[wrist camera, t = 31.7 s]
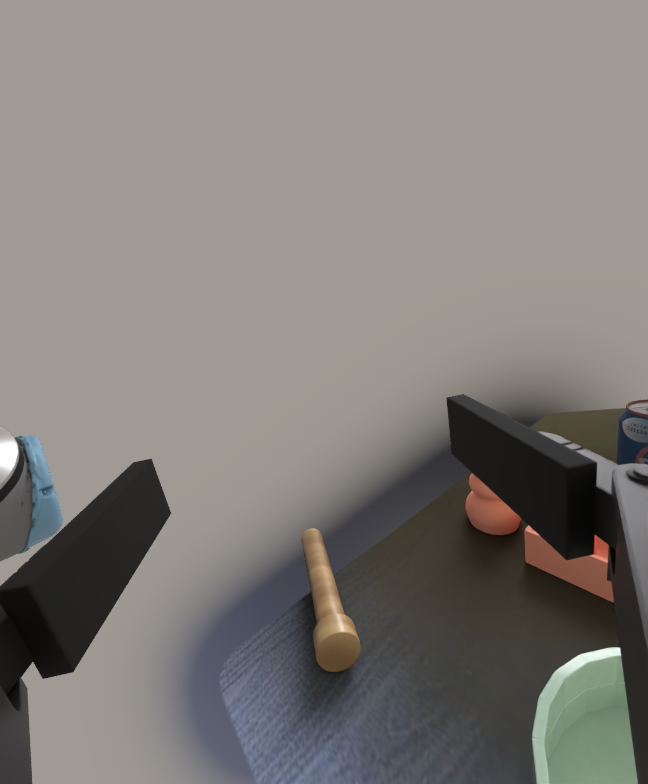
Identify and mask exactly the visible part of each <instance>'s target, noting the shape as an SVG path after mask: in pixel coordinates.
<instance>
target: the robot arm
mask: <svg viewBox="0 0 648 784" xmlns="http://www.w3.org/2000/svg"><path fill="white" fill-rule="evenodd" d="M447 407H448V417H449V428H450V439H451V450H452V454H453V455H454V456H455V457H456V458H457V459H458V460H459V461H460V462H461V463H462V464H464V465H465V466H466V467H467V468H468V469H469V470H470V471H471V472H472V473H473V474H474V475H475V476H476V477H477V478H479V479H480V480H481V481H482V482H483V483H484V484H485V485H486V486H487V487H488V488H489V489H490V490H491V491H492V492H494V493H495V494H496V495H497V496H498V497H499V498H500V499H501V500H502V501H503V502H504V503H505V504H506V505H508V506H509V507H510V508H511V509H512V510H513V511H514V512H515V513H516V514H517V515H518V516H519V517H520V518H522V519H523V520H524V521H525V522H526V523H527V524H528V525H529V526H530V527H531V528H532V529H533V530H534V531H535V532H537V533H538V534H539V535H540V536H541V537H542V538H543V539H544V540H545V541H546V542H547V543H548V544H549V545H551V546H552V547H553V548H554V549H555V550H556V551H557V552H558V553H559V554H560V555H561V556H562V557H563V558H564V559H566V560H571V559H576V558H580V557H585V556H589V555H593V554H594V541H595V535H596V536H597V537H599V538H600V539H601V540H603V541H604V542H605V543H607V544H608V545H609V547H608V567H607V581H611V583H612V591H613V599H614V606H615V614H616V621H617V629H618V637H619V644H620V652H621V659H622V667H623V675H624V682H625V690H626V697H627V705H628V713H629V720H630V728H631V736H632V743H633V751H634V758H635V766H636V774H637V781H638V784H648V464H634V463H630V464H623V465H618V464H616V463H614V462H612V461H610V460H608V459H606V458H604V457H602V456H600V455H598V454H596V453H593V452H591V451H589V450H587V449H583V447H581V446H579V445H577V444H575V443H573V444H572V442H571V441H569V440H566V439H564V438H562V437H560V436H558V435H554V434H550V433H546V432H542V431H540V432H537V431H535V430H533V429H531V428H529V427H527V426H524V425H523V424H521V423H519V422H517V421H515V420H513V419H511V418H509V417H507V416H505V415H503V414H501V413H499V412H497V411H495V410H493V409H491V408H489V407H487V406H485V405H483V404H482V403H480V402H478V401H476V400H473V399H472V398H470V397H468V396H466V395H464V394H462V395H457V396H452V397H448V398H447ZM170 514H171V512H170V509H169V506H168V503H167V501H166V498H165V495H164V492H163V490H162V487H161V484H160V481H159V479H158V476H157V473H156V470H155V467H154V465H153V462H152V459H148V460H144V461H138V462H134V463H133V464H131V465H130V466H129V467H128V468H127V469H126V470H125V471H124V472H123V473H122V474H121V475H120V476H119V477H118V478H117V479H115V480H114V481H113V482H112V483H111V484H110V485H109V486H108V487H107V488H106V489H105V490H104V491H103V492H102V493H101V494H99V495H98V496H97V497H96V498H95V499H94V500H93V501H92V502H91V503H90V504H89V505H88V506H87V507H86V508H85V509H83V511H81V512H80V513H79V514H78V515H77V516H76V517H75V518H74V519H73V520H72V521H71V522H70V523H69V524H68V525H67V526H65V527H64V528H63V529H62V530H61V531H60V532H59V533H58V534H57V535H56V536H55V537H54V538H53V539H52V540H50V541H49V542H48V543H47V544H46V545H44V546H43V547H42V548H41V549H40V550H39V551H37V553H35V554H34V555H33V556H32V557H31V558H30V559H29V561H28V562H26V563H25V564H24V565H22V566H21V567H20V568H19V569H18V571H17V572H16V573H14V574H13V575H12V576H11V577H10V578H9V579H8V580H7V581H5V582H4V583H3V584H2V585H1V586H0V784H32V771H31V752H30V733H29V715H28V695H27V688H26V686H25V684H24V682H23V680H22V679H21V677H22V675H23V674H24V672H25V671H26V670H27V668H28V667H29V666H30V665H31V663H32V662H34V664H35V666H36V668H37V669H38V671H39V673H40V674H41V676H42V678H43V679H44V678H49V677H53V676H57V675H62V674H67V673H71V672H74V670H75V668H76V666H77V665H78V663H79V662H80V660H81V658H82V657H83V655H84V654H85V652H86V650H87V649H88V647H89V646H90V644H91V642H92V641H93V639H94V637H95V636H96V634H97V633H98V631H99V629H100V628H101V626H102V625H103V623H104V621H105V620H106V618H107V616H108V615H109V613H110V612H111V610H112V608H113V607H114V605H115V603H116V602H117V600H118V599H119V597H120V595H121V594H122V592H123V590H124V588H125V587H126V585H127V584H128V582H129V580H130V579H131V577H132V575H133V574H134V573H135V571H136V569H137V568H138V566H139V564H140V563H141V561H142V560H143V558H144V556H145V555H146V553H147V552H148V550H149V548H150V547H151V545H152V543H153V542H154V540H155V539H156V537H157V535H158V534H159V532H160V530H161V529H162V527H163V526H164V524H165V522H166V521H167V519H168V517H169V516H170ZM62 519H63V518H62V514H61V509H60V506H59V502H58V499H57V496H56V492H55V489H54V485H53V482H52V479H51V475H50V471H49V468H48V465H47V462H46V458H45V455H44V452H43V449H42V446H41V443H40V441H39V439H38V438H37V437H35V436H26V437H23V436H19V437H15V438H13V436H12V435H11V434H10V433H9V432H8V431H7V430H5V429H4V428H2V427H0V561H2V560H4V559H7V558H9V557H11V556H13V555H15V554H18V553H19V554H20V553H23V552H26V551H27V550H28V549H30V547H32V546H34V545H36V544H38V543H40V542H42V541H43V540H45V539H47V538H49V537H51V536H53V535H54V534H55V533H57V531H58V530H59V529H60V527H61V526H62V521H63V520H62Z"/></svg>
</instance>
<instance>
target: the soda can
mask: <svg viewBox="0 0 648 784" xmlns="http://www.w3.org/2000/svg"><path fill="white" fill-rule="evenodd" d="M630 463H634V464H648V400H638V401H633V402H631V403H628V404H627V405H626V410H625V411H624V412H623V413H622V415H621V416H620V417H619V432H618V450H617V464H618V465H623V464H630Z"/></svg>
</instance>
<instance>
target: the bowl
mask: <svg viewBox="0 0 648 784" xmlns="http://www.w3.org/2000/svg"><path fill="white" fill-rule="evenodd" d="M532 760H533V784H638V781H637V774H636V766H635V758H634V751H633V743H632V736H631V728H630V720H629V713H628V705H627V697H626V690H625V682H624V675H623V667H622V659H621V652H620V647H609V648H605V649H601V650H597V651H592V652H588V653H584V654H580V655H578V656H576V657H575V658H573V659H572V660H570V661H569V662H568V663H566V664H565V665H563V666H562V667H560V668H559V669H557V670H556V671H555V672H554V673H553V675H552V676H551V678H550V680H549V681H548V683H547V685H546V686H545V688H544V690H543V691H542V693H541V695H540V696H539V699H538V703H537V709H536V715H535V721H534V727H533V732H532Z"/></svg>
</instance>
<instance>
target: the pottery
mask: <svg viewBox="0 0 648 784" xmlns="http://www.w3.org/2000/svg"><path fill="white" fill-rule="evenodd" d="M469 485H470V488H471V489H472V491H471V493H470V494H469V495H468V497H467V500H466V512H467V514H468V517H469V520H470V522H471V523H472V525H473V526H474V527H476V528H477V529H479V530H480V531H483V532H485V533H488V534H493V535H506V534H510V533H513V532H514V531H516V530H517V529H518V528H519V525H520V521H521V518H520V517H519V516H518V515H517V514H516V513H515V512H514V511H513V510H512V509H511V508H510V507H509V506H508V505H506V504H505V503H504V502H503V501H502V500H501V499H500V498H499V497H498V496H497V495H496V494H495V493H494V492H492V491H491V490H490V489H489V488H488V487H487V486H486V485H485V484H484V483H483V482H482V481H481V480H480V479H479V478H477V477H476V476H475V475H474V474H473V473H472V474H471V475H470V478H469ZM608 547H609V545H608V544H607V543H605V542H604V541H603V540H601V539H600V538H599V537H597V536H596V535H595V541H594V554H593V555H589V556H585V557H580V558H576V559H571V560H566V559H564V558H563V557H562V556H561V555H560V554H559V553H558V552H557V551H556V550H555V549H554V548H553V547H552V546H551V545H549V544H548V543H547V542H546V541H545V540H544V539H543V538H542V537H541V536H540V535H539V534H538V533H537V532H535V531H534V530H533V529H532V528H531V527H530V526H529V525H528V527H527V528H526V529H525V558H526V563H528V564H531V565H533V566H535V567H537V568H539V569H541V570H544V571H546V572H548V573H550V574H552V575H554V576H556V577H559V578H561V579H563V580H565V581H567V582H569V583H572V584H574V585H576V586H578V587H580V588H582V589H585V590H587V591H589V592H591V593H593V594H595V595H597V596H600V597H602V598H604V599H606V600H608V601H610V602H613V603H614V599H613V591H612V583H611V581H607V567H608Z"/></svg>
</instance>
